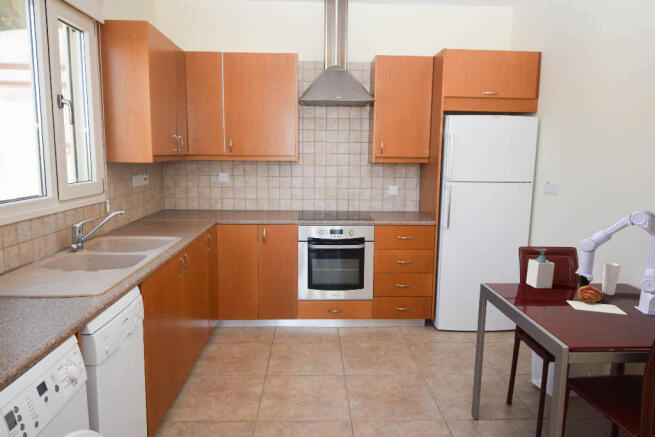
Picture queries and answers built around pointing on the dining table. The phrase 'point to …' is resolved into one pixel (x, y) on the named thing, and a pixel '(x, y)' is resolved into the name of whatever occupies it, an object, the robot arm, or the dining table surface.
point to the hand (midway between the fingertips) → (582, 291)
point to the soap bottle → (540, 271)
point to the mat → (596, 307)
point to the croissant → (590, 294)
